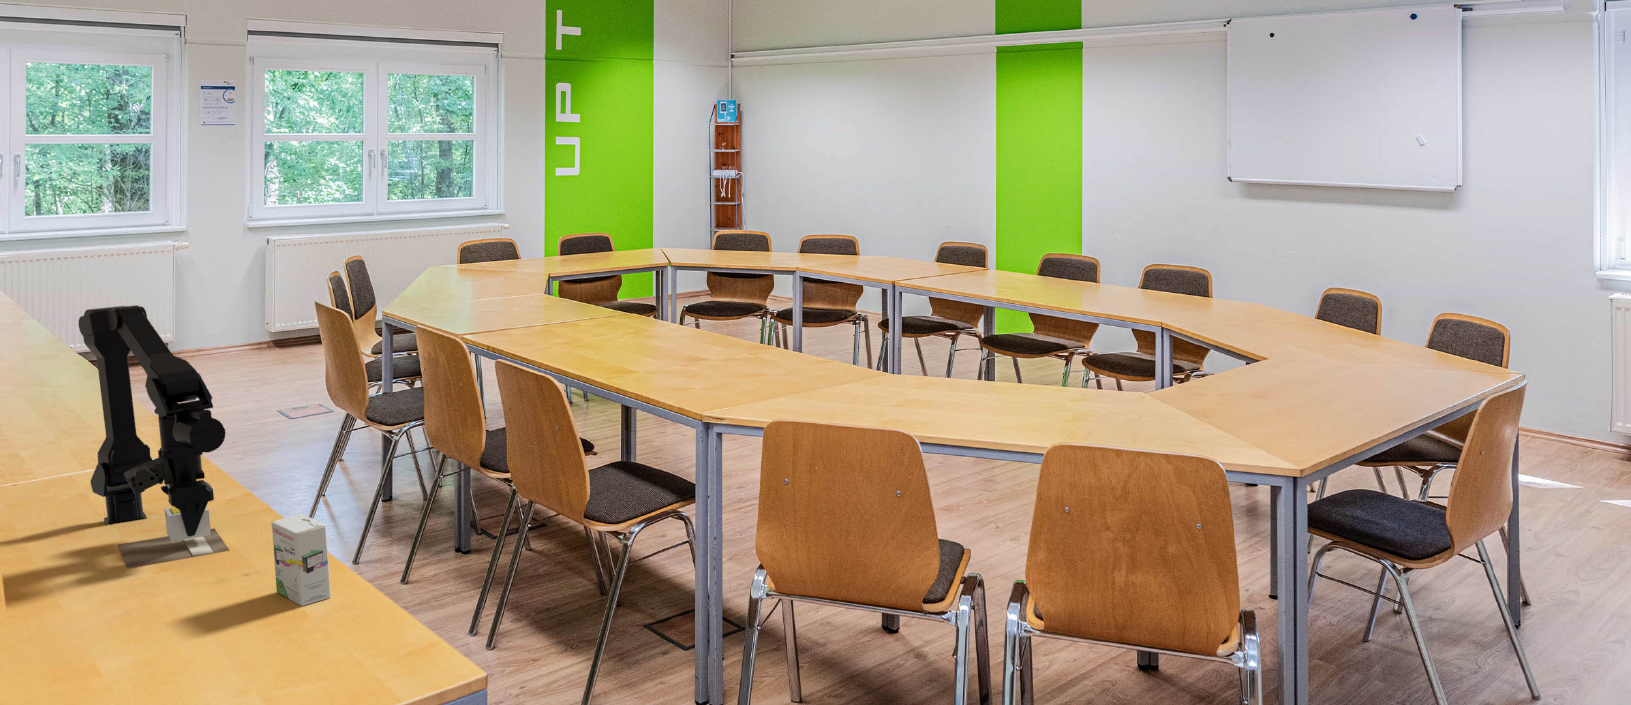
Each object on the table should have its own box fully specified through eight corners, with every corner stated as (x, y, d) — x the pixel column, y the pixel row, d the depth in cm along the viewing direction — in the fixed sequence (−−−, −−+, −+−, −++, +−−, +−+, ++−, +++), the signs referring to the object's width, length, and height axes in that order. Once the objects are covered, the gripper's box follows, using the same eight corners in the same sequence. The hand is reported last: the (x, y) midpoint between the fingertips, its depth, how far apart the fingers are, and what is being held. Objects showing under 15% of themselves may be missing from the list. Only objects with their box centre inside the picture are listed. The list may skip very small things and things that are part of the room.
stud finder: (166, 533, 203) (164, 507, 202) (206, 527, 207) (203, 501, 206) (171, 541, 199) (168, 515, 198) (210, 535, 203) (208, 508, 202)
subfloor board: (118, 551, 203) (117, 543, 203) (215, 534, 212) (214, 527, 212) (128, 575, 192) (127, 567, 192) (230, 557, 201) (229, 549, 200)
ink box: (275, 593, 185) (269, 520, 183) (306, 584, 189) (300, 512, 187) (301, 607, 180) (295, 532, 177) (332, 597, 183) (327, 524, 181)
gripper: (119, 437, 203) (128, 525, 206) (132, 462, 188) (141, 556, 191) (191, 429, 209) (199, 514, 212) (210, 451, 194) (218, 543, 197)
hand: (188, 531), depth 203 cm, fingers closed on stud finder, 5 cm apart
